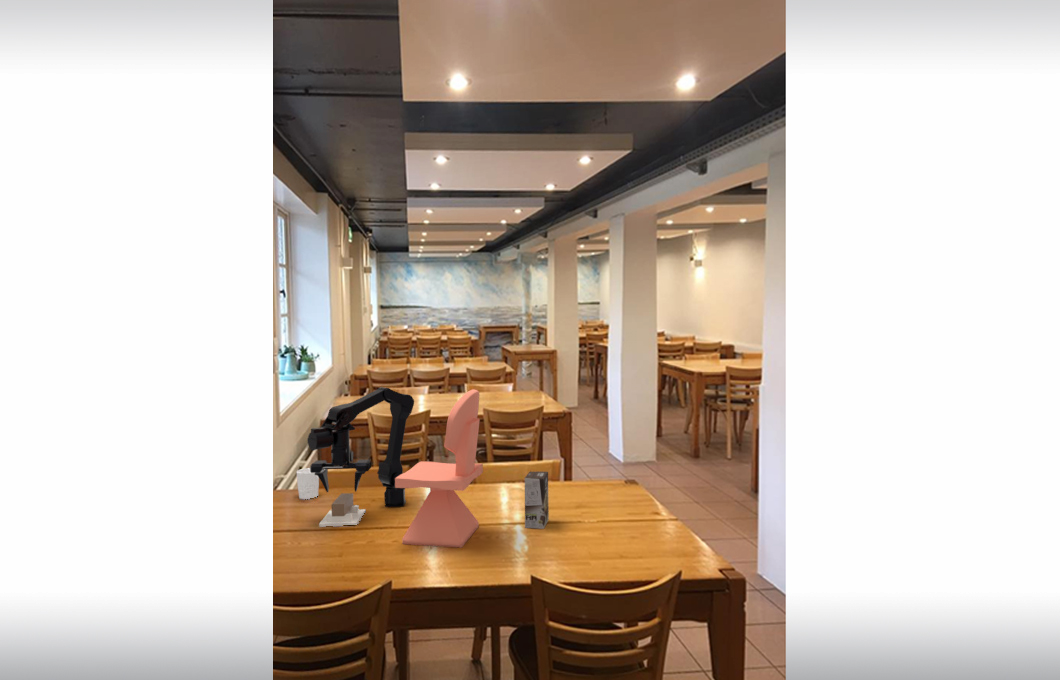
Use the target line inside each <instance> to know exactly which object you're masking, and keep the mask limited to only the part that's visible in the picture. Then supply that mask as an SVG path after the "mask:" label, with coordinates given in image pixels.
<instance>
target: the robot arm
mask: <svg viewBox="0 0 1060 680" xmlns="http://www.w3.org/2000/svg"><path fill="white" fill-rule="evenodd" d="M382 402H385V403H387V404H389V411H390V414H391V418H392V420H391V426H390V431H389V436H388V437H389V438H388V443H387V450H386V455H385V456H386V457H385V459H384V460H383V462H379V463H378V469H377V473H376V474H377V475H378V476H377V477H378V480H379V481H380V482H381V485H382V487H385V491H384V492H383V493H384V497H383V498H384V499H383V500H384V504H385V505H384V507H385V508H393V507H394V508H395V507H398V508H399V507H405V504H406V502H407V499H406V488H395V478H396V477H398V476H399V475H401V474H403V473H404V471H403V465H402V462H401V461H402V460H401V456H402V451H403V450H402V448H403V445H404V444H403V443H404V436H405V431H406V425H407V424H406V423H407V419H408V418H409V417H410V415H411V414H412V412H413V409H414V405H415V398H413V396H412V395H410V394H405V393H400V392H398V391H394V390H392V389H391V388H390V387H383V386H380V387H378V388H377V389H375V390H373V391H372V392H370V393H367V394H366V395H364V396H361V397H360V398H358V399H355V400H354V401H352V402H348V403H343V404H339V405H336V406H332V407H330V408H329V410H328V412H327V413H328V414H327V416H326V418H325V419H324V421H323V423H322V425H321V426H320V427H318V428H317V427H314V428H310V433H309V434H308V437H307V446H308V447H309V449H310V450H311V451H316V450H321V449H322V450H323V449H327V448H330V447H331V450H330V453H331V454H330V455H331V462H328V461H327V460H326V459H325V460H321V459H320V460H315V461H313V462H312V463H311V464H310V467H309V468H310V472H311V473H315V475H318V477H319V481H320V482H321V484H322V485H323V487H324V490H325V491H326V493H329V489H330V487H329V486H330V485H329V477H328V476H329V475H328V470H338V469H340V470H341V469H342V470H343V469H347V470H348V469H355V470H356V471H355V472H354V492H355V493H356V492H357V490H358V488H359V484H360V480H361V479H362V476H363V475H364V474H366V472H369V471H370V470H371V468H372V462H371V459H358V460H357V461H356V462H353V461H354V451H353V450H351V445H350V431H355V430H356V427H355V426H354V425H352V424H351V423H352V422H353V421H355V419H356V418H357V417H358V416H359V415H360V414H362V413H363V412H365V411H367V410H368V409H371V408H372V407H375V406H377V405H379V404H380V403H382Z"/></svg>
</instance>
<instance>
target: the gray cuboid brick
mask: <svg viewBox="0 0 1060 680" xmlns="http://www.w3.org/2000/svg"><path fill="white" fill-rule="evenodd" d="M353 505H354V493H351V492H350V493H348V492H347V493H343V492H342V493H340V494H339V495H338V497H337V498H335V499H334V500H333V502H332V503H331V510H332V516H345V515H346V513H347V512H348V511H349V510H350V508H351V507H352V506H353Z"/></svg>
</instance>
